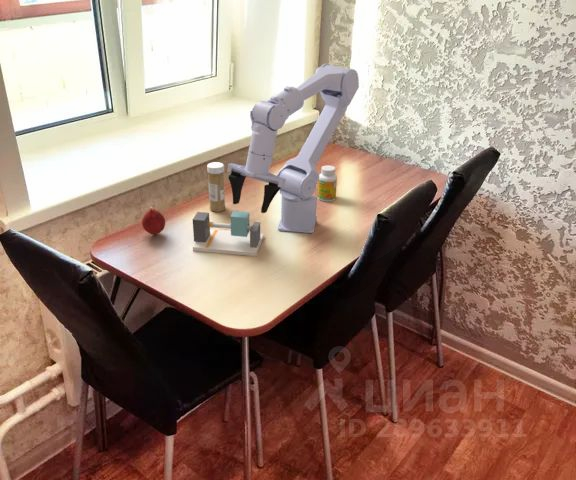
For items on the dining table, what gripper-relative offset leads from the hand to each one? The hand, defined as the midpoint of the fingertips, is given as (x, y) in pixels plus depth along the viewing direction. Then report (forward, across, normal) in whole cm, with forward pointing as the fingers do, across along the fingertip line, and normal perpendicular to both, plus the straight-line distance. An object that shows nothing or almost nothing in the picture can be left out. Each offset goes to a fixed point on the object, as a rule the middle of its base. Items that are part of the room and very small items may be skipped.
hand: (249, 207), depth 140 cm
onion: (+14, -24, -2) cm, 28 cm away
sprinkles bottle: (+8, -17, +18) cm, 26 cm away
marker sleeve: (+8, -2, +2) cm, 8 cm away
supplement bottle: (+1, +9, +37) cm, 38 cm away
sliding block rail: (+11, -4, +2) cm, 12 cm away
